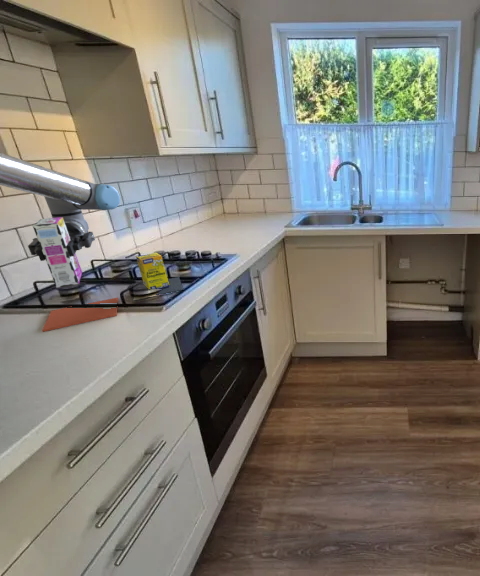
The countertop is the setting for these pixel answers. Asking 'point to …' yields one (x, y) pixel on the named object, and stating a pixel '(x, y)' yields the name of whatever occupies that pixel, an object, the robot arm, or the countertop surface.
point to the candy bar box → (58, 251)
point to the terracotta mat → (78, 315)
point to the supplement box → (153, 271)
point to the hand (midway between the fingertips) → (55, 253)
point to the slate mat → (172, 286)
